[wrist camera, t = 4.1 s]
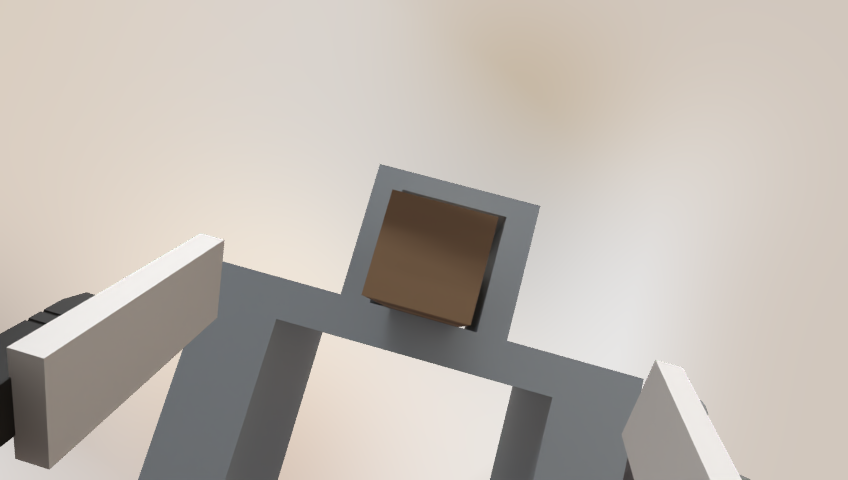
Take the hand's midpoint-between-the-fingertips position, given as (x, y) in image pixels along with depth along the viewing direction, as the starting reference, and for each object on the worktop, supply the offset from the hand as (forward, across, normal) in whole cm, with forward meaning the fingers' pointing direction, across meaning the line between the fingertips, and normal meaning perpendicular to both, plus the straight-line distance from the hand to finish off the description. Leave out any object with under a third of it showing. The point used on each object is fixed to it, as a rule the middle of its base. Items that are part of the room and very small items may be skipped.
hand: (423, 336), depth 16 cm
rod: (+11, 0, -6) cm, 12 cm away
